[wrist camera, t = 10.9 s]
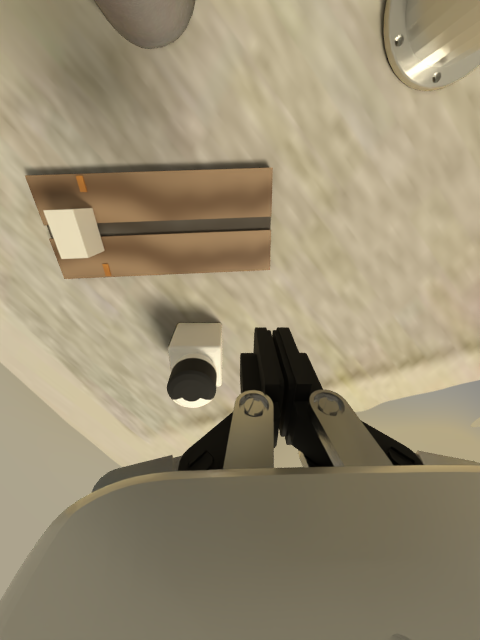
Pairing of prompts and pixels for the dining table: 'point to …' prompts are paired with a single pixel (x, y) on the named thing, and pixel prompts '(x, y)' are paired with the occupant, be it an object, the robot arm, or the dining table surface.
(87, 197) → the fader board
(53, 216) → the fader tab
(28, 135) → the dining table surface
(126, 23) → the pillar candle
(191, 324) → the medicine bottle
